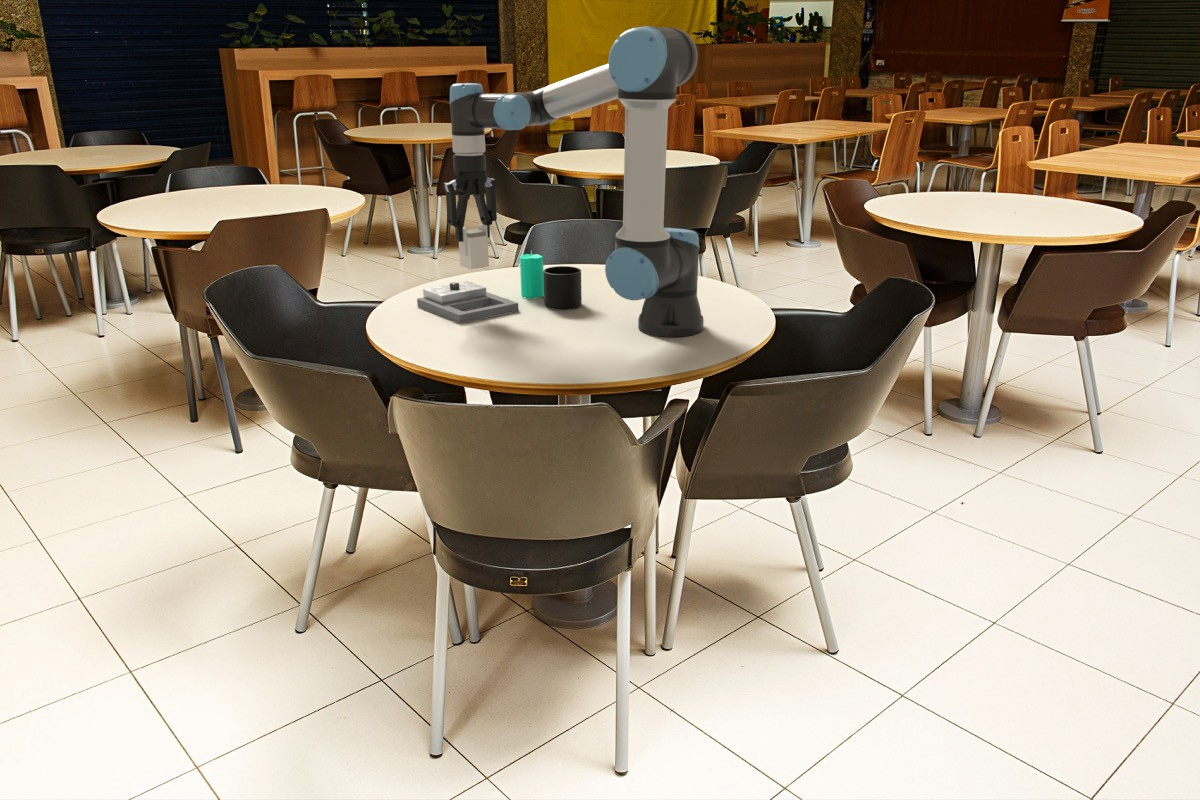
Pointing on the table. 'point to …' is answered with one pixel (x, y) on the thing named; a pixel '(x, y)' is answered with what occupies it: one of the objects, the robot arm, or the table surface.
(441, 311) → the grey flat frame
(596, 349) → the table surface
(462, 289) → the panel
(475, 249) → the plug
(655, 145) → the robot arm
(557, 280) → the mug
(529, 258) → the candle
